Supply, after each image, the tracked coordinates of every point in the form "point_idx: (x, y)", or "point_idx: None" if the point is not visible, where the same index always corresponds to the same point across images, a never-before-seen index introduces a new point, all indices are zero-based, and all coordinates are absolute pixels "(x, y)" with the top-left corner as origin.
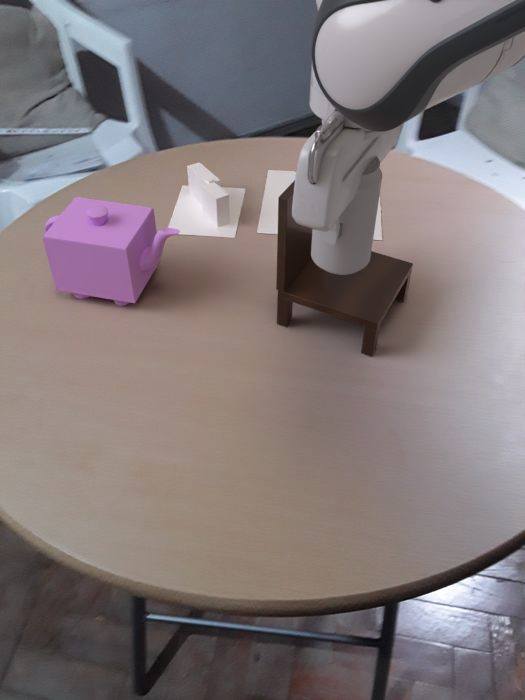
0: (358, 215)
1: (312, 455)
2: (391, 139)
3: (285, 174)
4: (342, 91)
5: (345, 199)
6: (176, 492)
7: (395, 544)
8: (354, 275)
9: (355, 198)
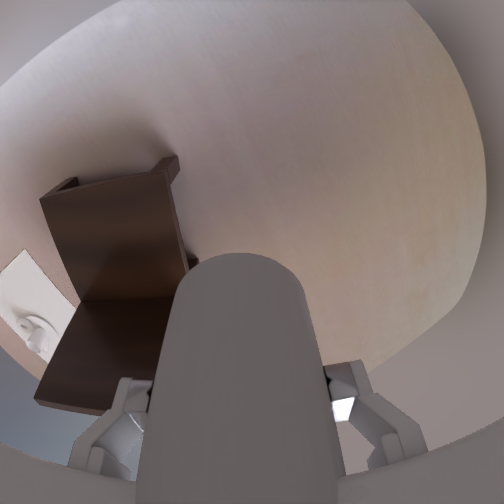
0: (314, 408)
1: (353, 143)
2: (23, 493)
3: (41, 353)
4: None
5: (463, 487)
6: (429, 228)
7: (402, 37)
8: (105, 245)
9: (334, 471)
